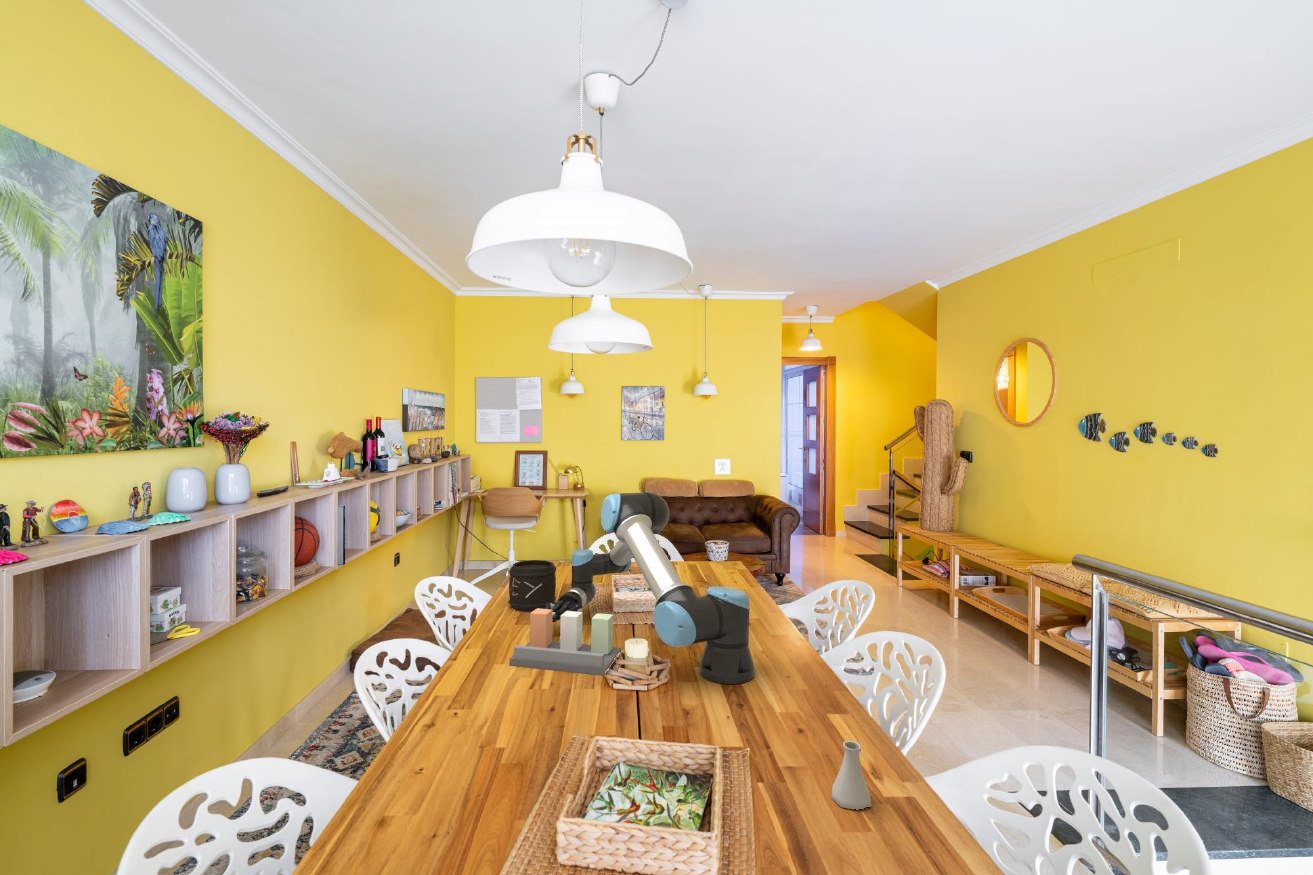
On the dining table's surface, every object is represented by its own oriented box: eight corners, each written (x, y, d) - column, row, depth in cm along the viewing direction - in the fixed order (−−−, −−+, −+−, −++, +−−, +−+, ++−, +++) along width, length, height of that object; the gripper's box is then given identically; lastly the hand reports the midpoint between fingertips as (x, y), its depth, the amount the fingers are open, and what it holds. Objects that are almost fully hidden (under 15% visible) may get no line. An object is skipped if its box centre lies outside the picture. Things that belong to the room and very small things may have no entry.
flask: (863, 787, 115) (864, 734, 114) (878, 811, 107) (879, 755, 107) (825, 787, 114) (826, 734, 114) (838, 811, 107) (839, 755, 107)
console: (621, 654, 180) (621, 637, 180) (604, 675, 165) (605, 657, 165) (533, 645, 186) (533, 629, 186) (509, 665, 171) (509, 647, 171)
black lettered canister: (498, 605, 229) (498, 563, 229) (540, 596, 241) (540, 557, 241) (522, 616, 216) (522, 572, 216) (565, 607, 228) (565, 565, 227)
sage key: (612, 648, 179) (613, 614, 179) (607, 654, 174) (608, 619, 174) (596, 646, 180) (597, 613, 180) (591, 652, 175) (591, 618, 175)
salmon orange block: (552, 642, 183) (552, 609, 183) (545, 648, 178) (546, 614, 178) (536, 641, 184) (537, 608, 184) (529, 646, 179) (530, 613, 179)
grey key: (582, 645, 181) (582, 612, 181) (576, 651, 176) (576, 617, 176) (566, 644, 182) (566, 610, 182) (560, 649, 177) (560, 615, 177)
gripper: (590, 614, 206) (564, 637, 183) (554, 611, 209) (524, 633, 186) (590, 592, 206) (565, 612, 183) (554, 589, 209) (524, 608, 186)
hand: (544, 622), depth 184 cm, fingers closed
